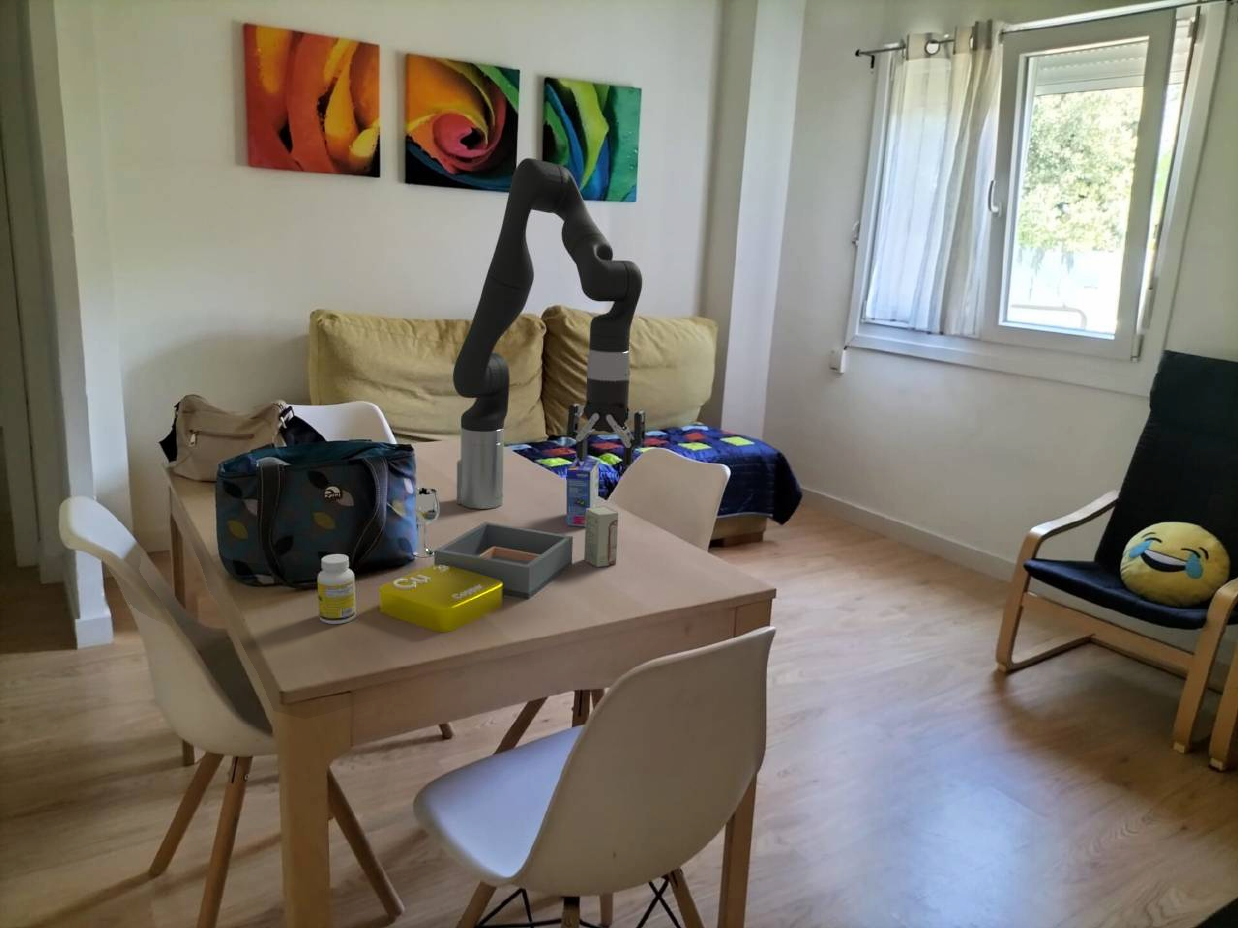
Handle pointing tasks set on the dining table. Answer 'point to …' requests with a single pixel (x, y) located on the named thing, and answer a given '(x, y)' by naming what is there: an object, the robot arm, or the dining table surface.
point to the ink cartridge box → (581, 490)
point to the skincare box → (601, 536)
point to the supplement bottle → (336, 590)
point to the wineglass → (426, 514)
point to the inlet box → (510, 556)
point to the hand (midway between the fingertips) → (604, 464)
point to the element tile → (441, 597)
